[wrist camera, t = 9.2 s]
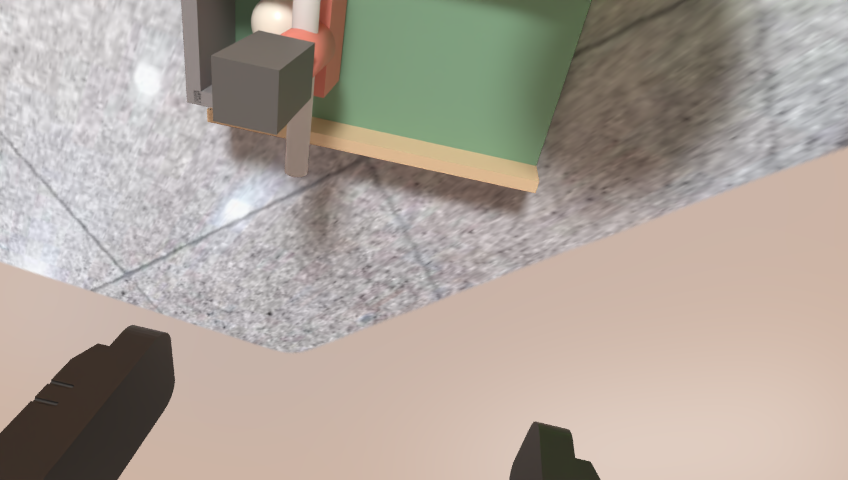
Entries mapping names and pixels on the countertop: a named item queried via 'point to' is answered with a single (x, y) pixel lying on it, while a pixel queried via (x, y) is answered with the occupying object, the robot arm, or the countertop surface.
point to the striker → (281, 77)
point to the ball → (272, 16)
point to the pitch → (424, 80)
